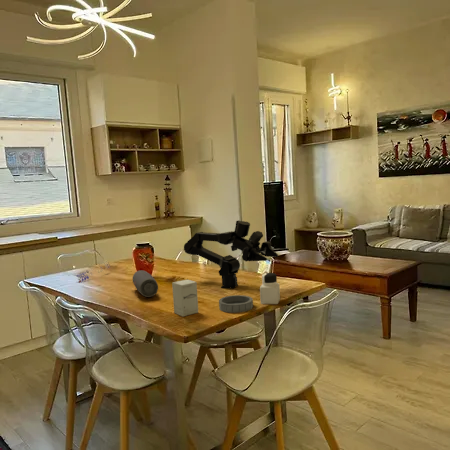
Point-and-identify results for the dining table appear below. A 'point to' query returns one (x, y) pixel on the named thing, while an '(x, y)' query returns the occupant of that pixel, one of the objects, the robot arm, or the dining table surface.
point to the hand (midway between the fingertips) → (272, 257)
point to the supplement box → (185, 297)
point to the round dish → (236, 304)
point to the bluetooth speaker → (145, 283)
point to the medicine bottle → (269, 289)
